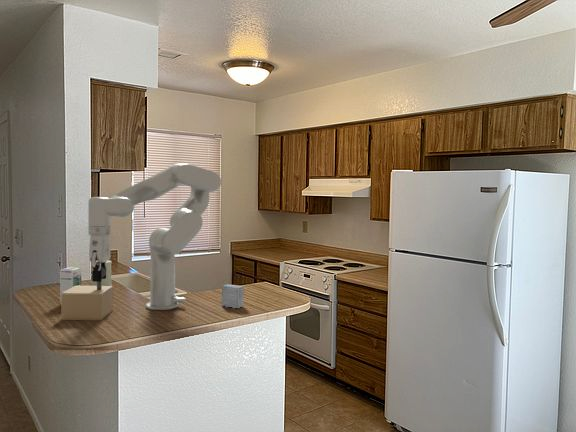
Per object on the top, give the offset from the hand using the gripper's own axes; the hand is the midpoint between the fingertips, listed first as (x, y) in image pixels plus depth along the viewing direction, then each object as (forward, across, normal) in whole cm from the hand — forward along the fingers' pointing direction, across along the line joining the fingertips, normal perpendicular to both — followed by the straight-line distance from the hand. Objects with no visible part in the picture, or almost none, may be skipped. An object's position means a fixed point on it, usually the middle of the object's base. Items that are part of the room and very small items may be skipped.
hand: (99, 279), depth 176 cm
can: (+14, +53, +16) cm, 57 cm away
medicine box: (+14, +14, -48) cm, 52 cm away
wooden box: (+13, 0, +4) cm, 14 cm away
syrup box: (+14, +16, +16) cm, 27 cm away
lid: (+4, 0, +4) cm, 6 cm away
